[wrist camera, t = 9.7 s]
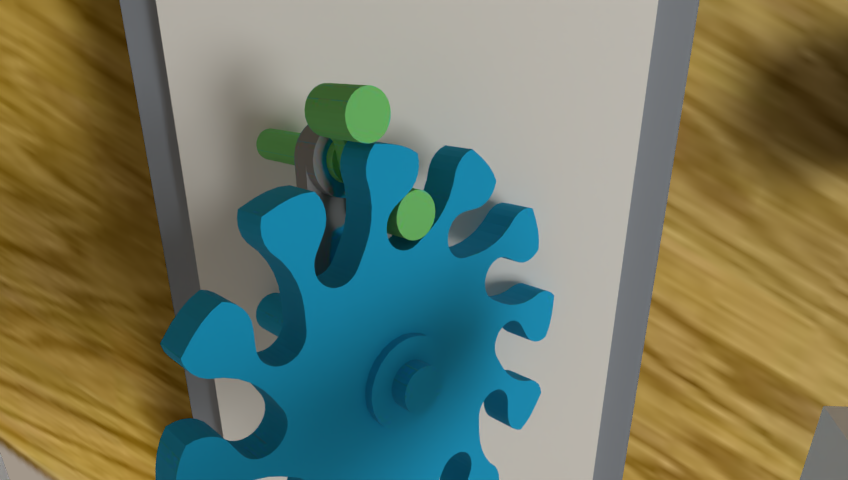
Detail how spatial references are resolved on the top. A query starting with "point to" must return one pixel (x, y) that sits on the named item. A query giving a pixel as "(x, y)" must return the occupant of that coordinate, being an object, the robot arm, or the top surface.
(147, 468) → the top surface
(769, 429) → the top surface
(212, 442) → the gear
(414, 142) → the stand
